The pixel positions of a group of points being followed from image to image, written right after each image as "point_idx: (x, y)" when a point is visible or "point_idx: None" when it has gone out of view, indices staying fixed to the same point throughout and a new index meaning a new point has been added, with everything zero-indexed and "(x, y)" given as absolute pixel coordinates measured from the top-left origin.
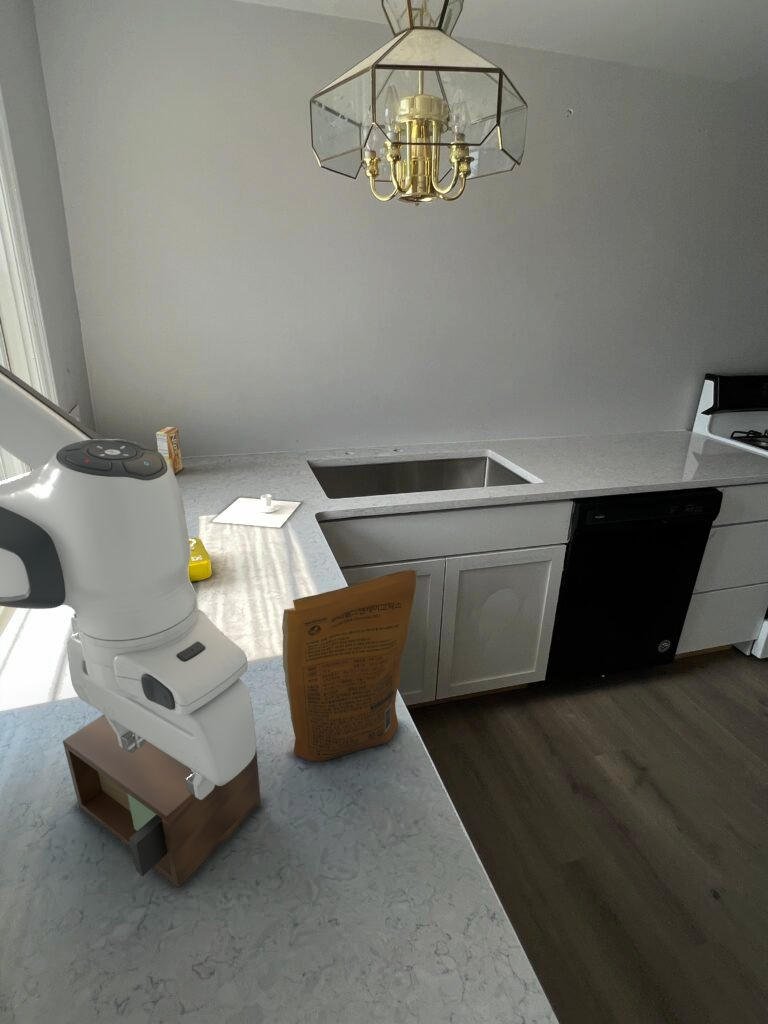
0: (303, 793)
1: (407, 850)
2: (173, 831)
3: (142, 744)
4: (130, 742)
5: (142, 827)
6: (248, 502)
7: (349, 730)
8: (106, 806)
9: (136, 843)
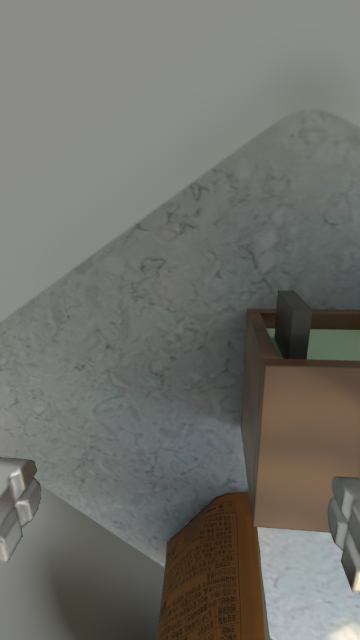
0: (206, 458)
1: (70, 453)
2: (258, 352)
3: (328, 514)
4: (353, 525)
5: (308, 333)
6: None
7: (186, 557)
8: None
9: (293, 310)
